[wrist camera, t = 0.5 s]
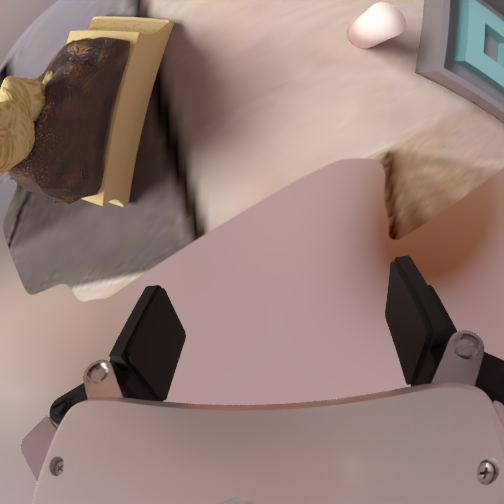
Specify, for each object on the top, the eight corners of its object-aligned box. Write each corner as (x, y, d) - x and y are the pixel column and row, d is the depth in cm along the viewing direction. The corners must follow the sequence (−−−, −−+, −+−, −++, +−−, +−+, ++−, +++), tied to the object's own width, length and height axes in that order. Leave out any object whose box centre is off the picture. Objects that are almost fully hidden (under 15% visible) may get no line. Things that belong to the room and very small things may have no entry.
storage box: (425, -36, 17) (443, -47, 12) (526, 35, 18) (547, 35, 12) (415, 72, 28) (436, 71, 23) (516, 132, 28) (538, 141, 23)
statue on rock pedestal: (100, 18, 26) (-70, 4, 1) (174, 23, 28) (0, -45, 2) (68, 182, 41) (-64, 283, 15) (129, 202, 42) (-1, 338, 16)
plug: (348, 18, 26) (371, -3, 17) (377, 28, 26) (407, 11, 17) (344, 43, 28) (366, 27, 19) (373, 52, 28) (403, 41, 19)
